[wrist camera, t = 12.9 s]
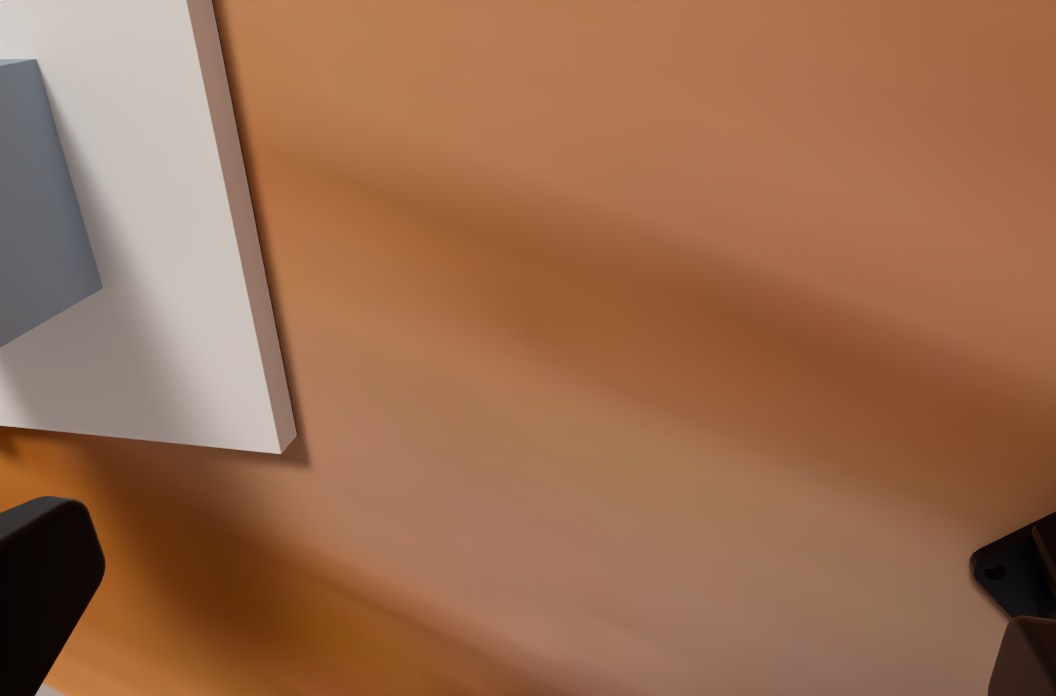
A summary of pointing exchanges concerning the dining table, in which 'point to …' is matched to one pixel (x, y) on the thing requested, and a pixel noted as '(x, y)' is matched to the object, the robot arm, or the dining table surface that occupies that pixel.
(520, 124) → the dining table surface
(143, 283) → the white rectangular slab
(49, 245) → the tea box
